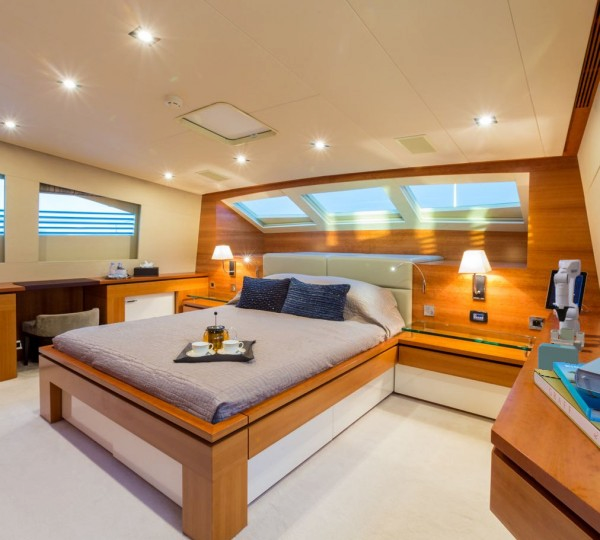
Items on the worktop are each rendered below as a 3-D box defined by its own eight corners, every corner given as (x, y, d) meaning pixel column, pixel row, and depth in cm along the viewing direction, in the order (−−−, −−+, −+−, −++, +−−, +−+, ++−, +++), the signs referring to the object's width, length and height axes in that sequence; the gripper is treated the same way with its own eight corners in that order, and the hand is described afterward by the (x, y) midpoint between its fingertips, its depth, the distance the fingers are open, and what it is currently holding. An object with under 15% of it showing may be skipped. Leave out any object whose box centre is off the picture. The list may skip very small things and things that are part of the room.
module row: (552, 339, 191) (552, 328, 191) (584, 343, 183) (584, 331, 183) (550, 343, 184) (550, 331, 184) (583, 347, 175) (583, 334, 175)
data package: (578, 379, 131) (578, 346, 131) (577, 382, 128) (577, 349, 127) (539, 372, 139) (539, 342, 139) (537, 375, 136) (537, 344, 135)
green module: (561, 340, 187) (560, 327, 187) (574, 341, 183) (574, 328, 183) (560, 341, 183) (560, 328, 183) (573, 343, 180) (573, 329, 180)
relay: (573, 348, 173) (573, 340, 172) (581, 349, 171) (581, 340, 171) (573, 351, 169) (573, 342, 169) (581, 352, 167) (581, 342, 167)
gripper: (554, 293, 198) (554, 318, 199) (551, 296, 187) (551, 321, 188) (570, 294, 194) (570, 319, 194) (568, 297, 183) (568, 323, 183)
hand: (562, 320), depth 191 cm, fingers open, 7 cm apart
